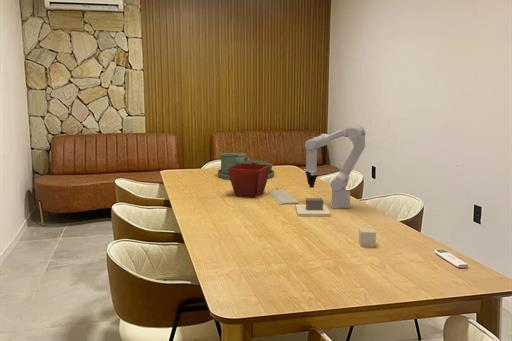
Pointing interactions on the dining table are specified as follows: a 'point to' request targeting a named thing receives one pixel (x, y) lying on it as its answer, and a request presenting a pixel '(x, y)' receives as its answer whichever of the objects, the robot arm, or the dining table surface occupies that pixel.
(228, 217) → the dining table surface
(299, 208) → the board
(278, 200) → the baseboard molding
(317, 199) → the block
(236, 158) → the tea set
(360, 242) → the light gray cube
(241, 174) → the plant pot
